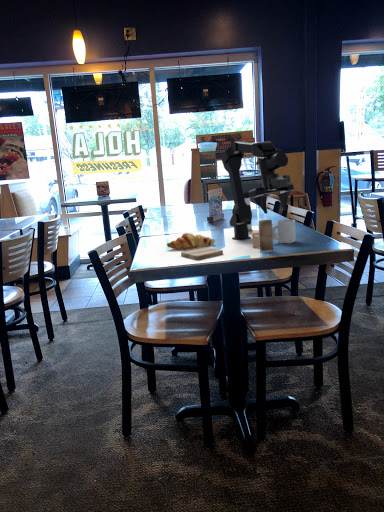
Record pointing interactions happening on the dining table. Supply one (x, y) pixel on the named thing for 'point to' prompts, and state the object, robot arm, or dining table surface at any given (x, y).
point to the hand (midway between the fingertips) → (275, 211)
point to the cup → (285, 231)
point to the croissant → (190, 242)
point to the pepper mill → (266, 236)
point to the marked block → (256, 238)
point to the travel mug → (248, 204)
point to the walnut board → (201, 253)
